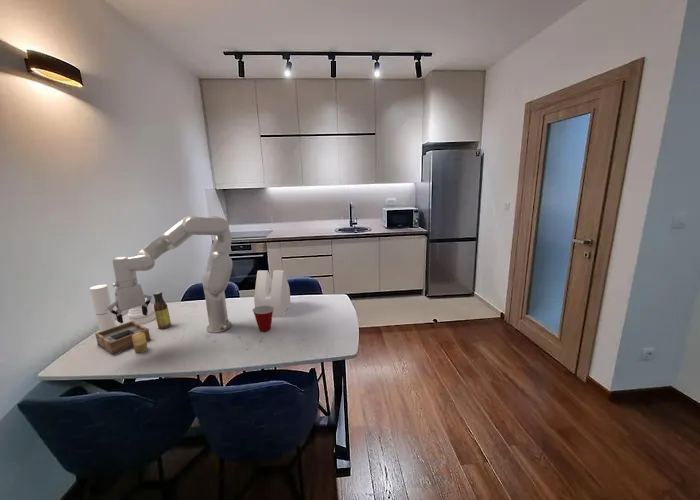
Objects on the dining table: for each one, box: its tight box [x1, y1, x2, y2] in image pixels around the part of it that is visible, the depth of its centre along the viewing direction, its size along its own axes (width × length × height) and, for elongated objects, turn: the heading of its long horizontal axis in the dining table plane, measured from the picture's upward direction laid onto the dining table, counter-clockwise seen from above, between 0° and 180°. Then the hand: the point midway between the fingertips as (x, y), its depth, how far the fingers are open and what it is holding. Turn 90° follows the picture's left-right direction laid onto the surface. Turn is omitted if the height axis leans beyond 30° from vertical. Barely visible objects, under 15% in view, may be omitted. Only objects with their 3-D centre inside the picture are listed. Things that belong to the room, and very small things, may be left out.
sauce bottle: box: [152, 291, 172, 330], centre depth 162 cm, size 6×6×20 cm
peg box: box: [95, 321, 151, 356], centre depth 148 cm, size 18×16×6 cm
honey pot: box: [127, 298, 156, 325], centre depth 172 cm, size 13×13×18 cm
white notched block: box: [253, 269, 292, 318], centre depth 179 cm, size 19×15×25 cm
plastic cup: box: [252, 306, 274, 333], centre depth 156 cm, size 11×11×12 cm
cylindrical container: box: [89, 284, 117, 332], centre depth 160 cm, size 7×7×25 cm
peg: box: [132, 332, 149, 354], centre depth 140 cm, size 5×5×8 cm
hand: (133, 318), depth 137 cm, fingers open, 9 cm apart
